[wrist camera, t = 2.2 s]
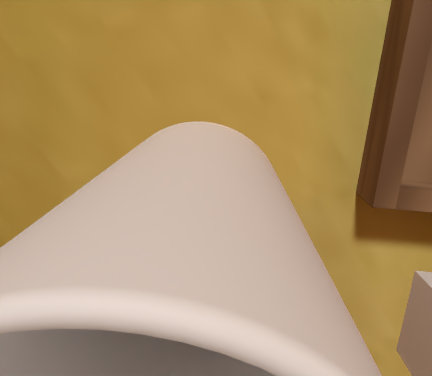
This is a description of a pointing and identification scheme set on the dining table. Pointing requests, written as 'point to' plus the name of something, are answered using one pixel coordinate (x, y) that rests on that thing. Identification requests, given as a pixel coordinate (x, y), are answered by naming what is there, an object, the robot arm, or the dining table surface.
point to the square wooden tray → (401, 115)
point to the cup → (175, 273)
